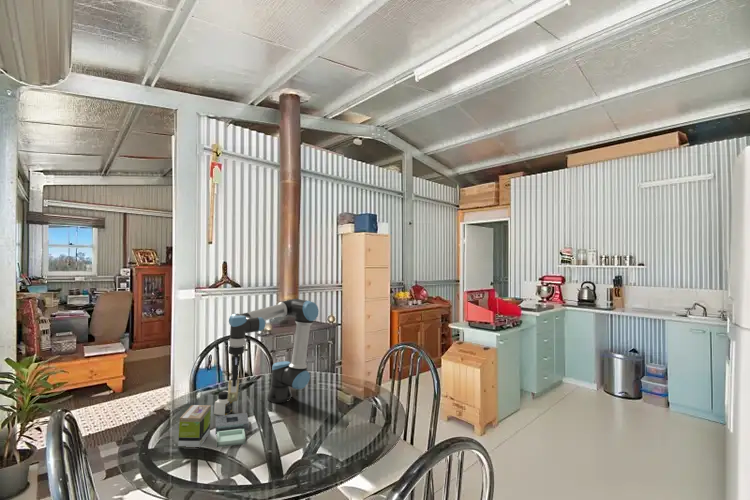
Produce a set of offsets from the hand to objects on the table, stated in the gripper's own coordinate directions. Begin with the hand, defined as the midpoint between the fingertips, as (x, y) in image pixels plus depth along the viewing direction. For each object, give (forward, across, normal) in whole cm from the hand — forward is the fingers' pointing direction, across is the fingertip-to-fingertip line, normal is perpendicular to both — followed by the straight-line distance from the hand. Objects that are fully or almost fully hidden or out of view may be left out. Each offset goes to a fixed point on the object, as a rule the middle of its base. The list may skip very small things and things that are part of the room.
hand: (233, 389), depth 197 cm
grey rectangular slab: (+21, -4, +1) cm, 22 cm away
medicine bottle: (+21, -23, -4) cm, 32 cm away
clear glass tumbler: (+5, 0, 0) cm, 5 cm away
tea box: (+22, +6, -16) cm, 28 cm away
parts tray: (+21, +10, 0) cm, 24 cm away
